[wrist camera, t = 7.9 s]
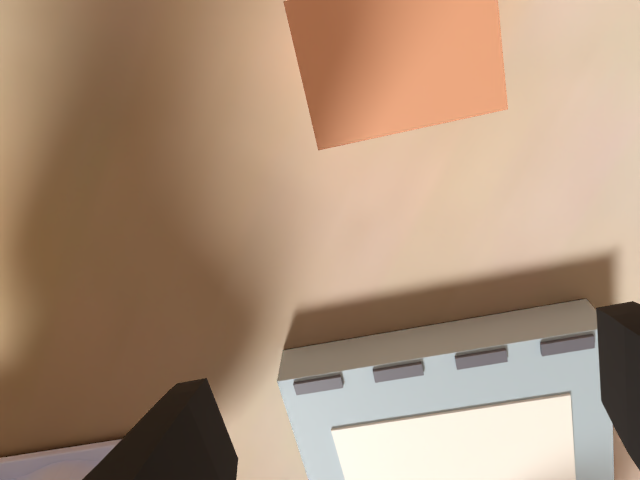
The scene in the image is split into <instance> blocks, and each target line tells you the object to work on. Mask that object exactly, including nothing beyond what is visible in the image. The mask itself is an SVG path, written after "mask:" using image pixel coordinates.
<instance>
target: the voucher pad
mask: <svg viewBox="0 0 640 480" xmlns="http://www.w3.org/2000/svg"><path fill="white" fill-rule="evenodd" d="M277 382H278V386H279V389H280V392H281V395H282V398H283V401H284V405H285V408H286V411H287V414H288V417H289V420H290V423H291V427H292V430H293V433H294V436H295V439H296V442H297V445H298V449H299V452H300V455H301V458H302V461H303V464H304V467H305V471H306V474H307V477H308V480H614V454H613V423H612V421H611V419H610V418H609V416H608V414H607V412H606V410H605V408H604V406H603V404H602V402H601V390H600V371H599V352H598V333H597V314H596V309H595V308H594V307H593V306H592V305H591V303H590V302H589V301H588V300H587V299H582V300H576V301H570V302H564V303H558V304H552V305H546V306H541V307H535V308H529V309H523V310H517V311H511V312H505V313H499V314H493V315H488V316H482V317H476V318H470V319H464V320H458V321H452V322H446V323H441V324H435V325H429V326H423V327H417V328H411V329H405V330H399V331H394V332H388V333H382V334H376V335H370V336H364V337H358V338H352V339H346V340H341V341H335V342H329V343H323V344H317V345H311V346H305V347H299V348H294V349H288V350H283V352H282V357H281V363H280V368H279V374H278V380H277Z"/></svg>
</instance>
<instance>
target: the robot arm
mask: <svg viewBox="0 0 640 480" xmlns="http://www.w3.org/2000/svg"><path fill="white" fill-rule="evenodd" d="M596 314H597V333H598V352H599V371H600V390H601V402H602V404H603V406H604V408H605V410H606V412H607V414H608V416H609V418H610V419H611V421H612V423H613V425H614V427H615V429H616V431H617V433H618V435H619V437H620V439H621V441H622V442H623V444H624V446H625V448H626V450H627V452H628V454H629V455H630V457H631V458H632V460H633V461H634V463H635V464H636V466H637V467H638V469H639V470H640V304H638V303H636V302H633V301H632V302H627V303H621V304H615V305H610V306H604V307H599V308H596ZM237 464H238V457H237V455H236V452H235V450H234V447H233V444H232V442H231V439H230V437H229V434H228V432H227V429H226V427H225V424H224V421H223V419H222V416H221V414H220V411H219V409H218V406H217V403H216V401H215V398H214V396H213V393H212V391H211V388H210V385H209V383H208V380H207V378H205V379H200V380H194V381H189V382H183V383H178V384H176V385H175V386H174V387H173V388H172V389H170V390H169V391H168V392H167V393H166V394H165V395H164V396H163V397H162V398H161V399H160V400H159V401H158V402H157V403H156V404H155V405H154V406H153V407H152V408H151V409H150V410H149V412H148V413H147V414H146V415H145V416H144V417H143V418H142V419H141V420H140V421H139V422H138V423H137V424H136V425H135V426H134V427H133V428H132V429H131V430H130V431H129V432H128V434H127V435H126V436H125V437H124V438H123V439H119V440H113V441H106V442H100V443H93V444H87V445H80V446H74V447H67V448H61V449H55V450H48V451H42V452H35V453H29V454H22V455H16V456H9V457H3V458H0V480H236V476H237Z"/></svg>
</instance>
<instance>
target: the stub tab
mask: <svg viewBox="0 0 640 480" xmlns="http://www.w3.org/2000/svg"><path fill="white" fill-rule="evenodd" d="M284 5H285V10H286V14H287V18H288V23H289V27H290V31H291V35H292V40H293V44H294V48H295V52H296V57H297V61H298V65H299V69H300V74H301V78H302V82H303V87H304V91H305V95H306V99H307V104H308V108H309V112H310V116H311V121H312V125H313V129H314V133H315V138H316V142H317V146H318V150H322V149H327V148H331V147H336V146H340V145H345V144H350V143H354V142H359V141H364V140H368V139H373V138H377V137H382V136H387V135H391V134H396V133H400V132H405V131H410V130H414V129H419V128H423V127H428V126H433V125H437V124H442V123H446V122H451V121H456V120H460V119H465V118H470V117H474V116H479V115H483V114H488V113H493V112H497V111H502V110H506V109H508V105H507V94H506V84H505V73H504V62H503V52H502V41H501V30H500V20H499V9H498V0H288V1H284Z"/></svg>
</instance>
